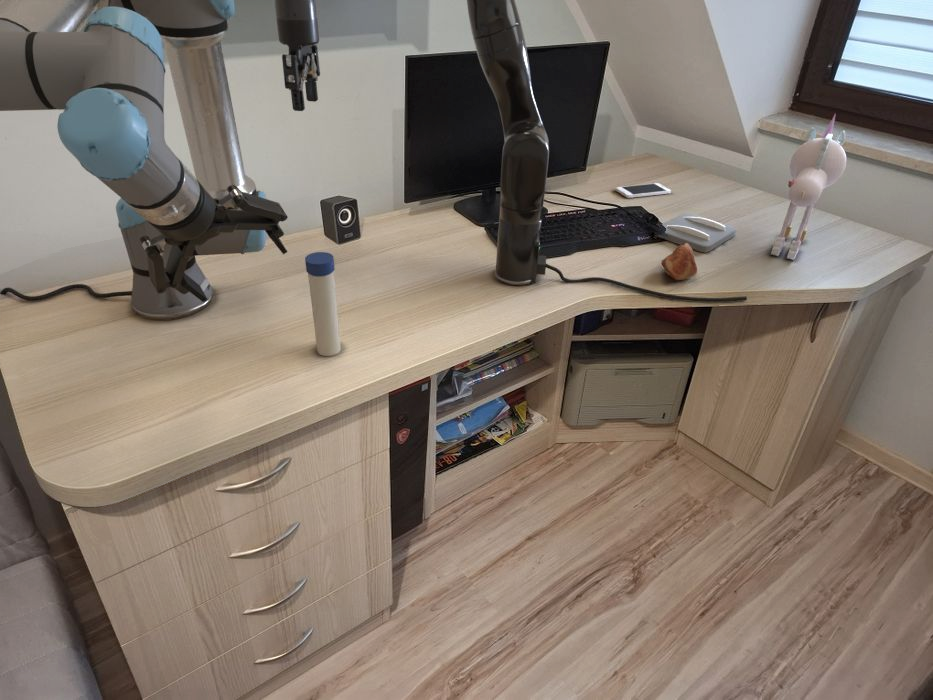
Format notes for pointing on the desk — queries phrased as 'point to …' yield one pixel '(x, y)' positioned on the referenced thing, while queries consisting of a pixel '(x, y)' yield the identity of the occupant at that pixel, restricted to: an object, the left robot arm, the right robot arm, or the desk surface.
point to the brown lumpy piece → (680, 263)
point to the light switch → (697, 232)
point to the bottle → (325, 314)
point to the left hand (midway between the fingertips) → (241, 270)
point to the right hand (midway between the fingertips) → (306, 105)
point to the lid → (319, 263)
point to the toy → (811, 180)
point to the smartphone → (642, 190)
